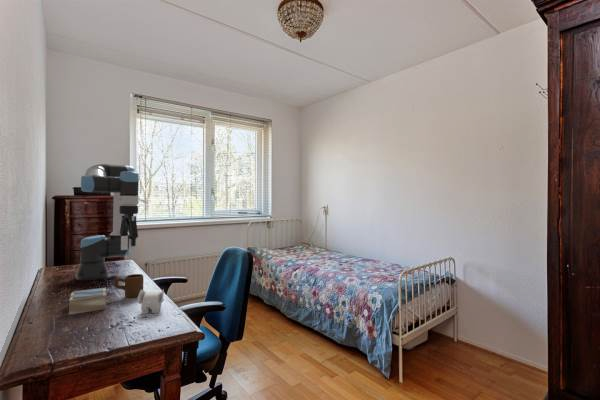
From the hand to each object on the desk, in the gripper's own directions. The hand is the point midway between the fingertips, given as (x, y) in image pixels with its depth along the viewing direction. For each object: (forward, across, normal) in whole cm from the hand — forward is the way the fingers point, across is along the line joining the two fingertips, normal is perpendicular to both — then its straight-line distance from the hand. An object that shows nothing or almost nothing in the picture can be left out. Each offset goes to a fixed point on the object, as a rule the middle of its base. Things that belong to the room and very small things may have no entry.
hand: (128, 251), depth 139 cm
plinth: (+21, +3, -15) cm, 26 cm away
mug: (+21, -1, +1) cm, 21 cm away
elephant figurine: (+22, +24, +3) cm, 32 cm away
